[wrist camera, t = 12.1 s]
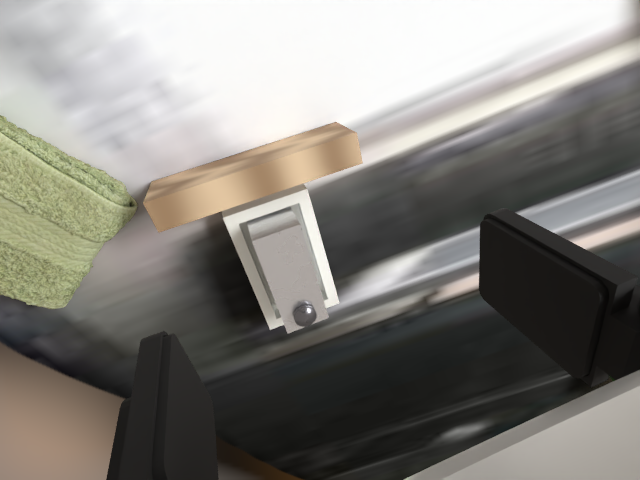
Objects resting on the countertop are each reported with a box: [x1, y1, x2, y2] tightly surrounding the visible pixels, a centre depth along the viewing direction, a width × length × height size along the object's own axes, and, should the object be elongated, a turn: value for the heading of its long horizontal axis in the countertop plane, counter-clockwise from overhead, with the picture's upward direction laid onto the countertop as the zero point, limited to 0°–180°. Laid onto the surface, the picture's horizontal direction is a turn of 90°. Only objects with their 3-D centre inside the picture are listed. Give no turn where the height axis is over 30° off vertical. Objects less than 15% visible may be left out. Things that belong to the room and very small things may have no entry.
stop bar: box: [247, 206, 329, 333], centre depth 34 cm, size 4×10×6 cm, turn 14°
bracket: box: [222, 184, 339, 330], centre depth 36 cm, size 8×13×2 cm, turn 14°
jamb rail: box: [143, 122, 363, 232], centre depth 30 cm, size 16×2×5 cm, turn 104°
